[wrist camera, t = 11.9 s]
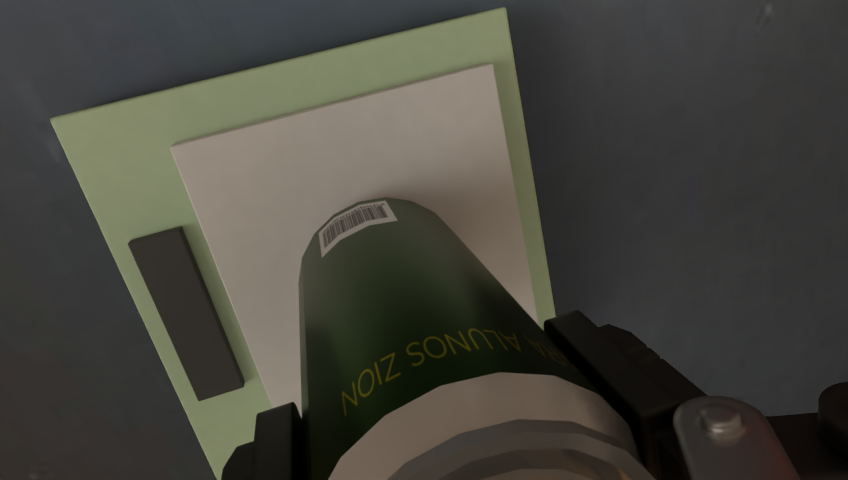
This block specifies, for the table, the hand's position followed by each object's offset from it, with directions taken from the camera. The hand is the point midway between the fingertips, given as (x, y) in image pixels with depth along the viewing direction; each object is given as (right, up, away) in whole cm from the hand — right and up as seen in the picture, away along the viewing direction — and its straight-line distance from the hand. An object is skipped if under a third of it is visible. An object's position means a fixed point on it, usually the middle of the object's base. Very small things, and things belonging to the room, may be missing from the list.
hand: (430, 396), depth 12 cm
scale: (-3, +3, +10) cm, 11 cm away
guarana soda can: (-2, +2, +7) cm, 8 cm away
